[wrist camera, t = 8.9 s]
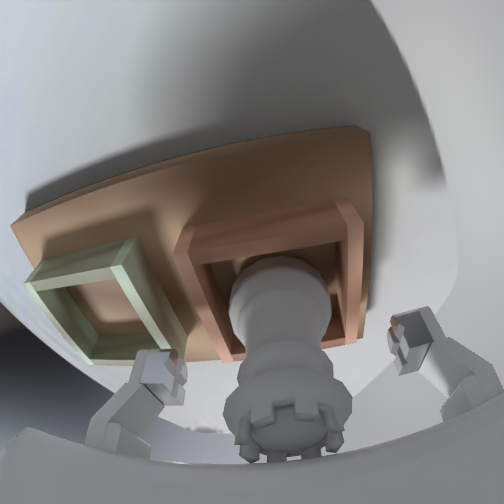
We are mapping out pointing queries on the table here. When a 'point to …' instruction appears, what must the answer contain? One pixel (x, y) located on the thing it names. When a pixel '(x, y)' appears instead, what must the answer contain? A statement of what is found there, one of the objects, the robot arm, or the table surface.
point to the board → (202, 244)
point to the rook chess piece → (284, 364)
